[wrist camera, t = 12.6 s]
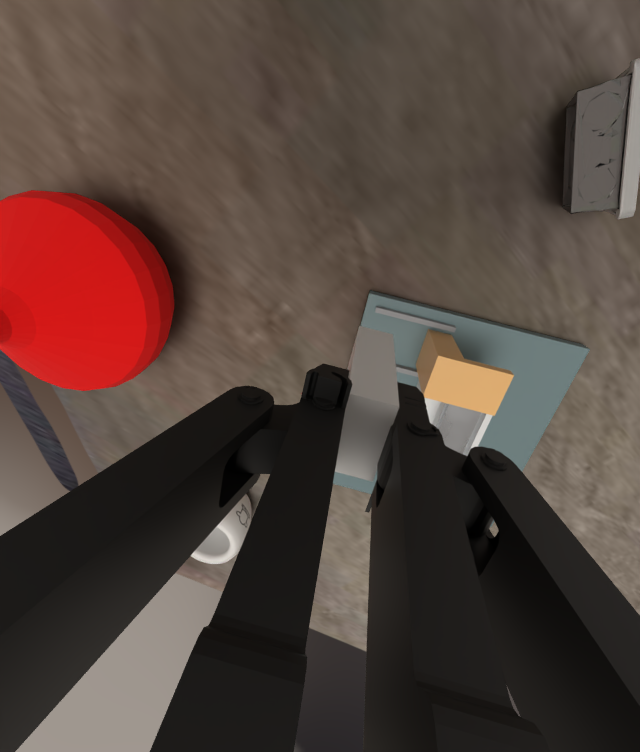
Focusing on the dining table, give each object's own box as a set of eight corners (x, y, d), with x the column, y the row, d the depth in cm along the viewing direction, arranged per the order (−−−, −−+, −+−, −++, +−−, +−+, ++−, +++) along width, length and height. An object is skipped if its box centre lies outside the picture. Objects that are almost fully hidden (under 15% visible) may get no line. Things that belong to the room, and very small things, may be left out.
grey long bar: (461, 363, 35) (464, 368, 34) (494, 371, 35) (497, 377, 34) (398, 516, 43) (398, 524, 42) (424, 523, 43) (425, 532, 42)
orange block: (428, 328, 39) (438, 355, 33) (490, 344, 39) (514, 375, 32) (415, 364, 41) (422, 396, 34) (475, 379, 41) (494, 416, 34)
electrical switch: (608, 208, 34) (665, 213, 26) (542, 219, 36) (577, 227, 28) (618, 82, 31) (688, 41, 23) (545, 100, 33) (586, 68, 24)
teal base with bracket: (369, 290, 40) (366, 312, 32) (582, 344, 39) (635, 381, 31) (319, 472, 50) (307, 524, 42) (488, 518, 50) (508, 580, 41)
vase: (222, 246, 41) (103, 278, 23) (172, 384, 48) (54, 486, 31) (57, 158, 39) (-197, 123, 22) (33, 314, 47) (-170, 380, 30)
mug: (267, 517, 55) (250, 564, 48) (214, 525, 57) (190, 571, 50) (235, 446, 51) (212, 486, 44) (179, 457, 53) (148, 497, 46)
